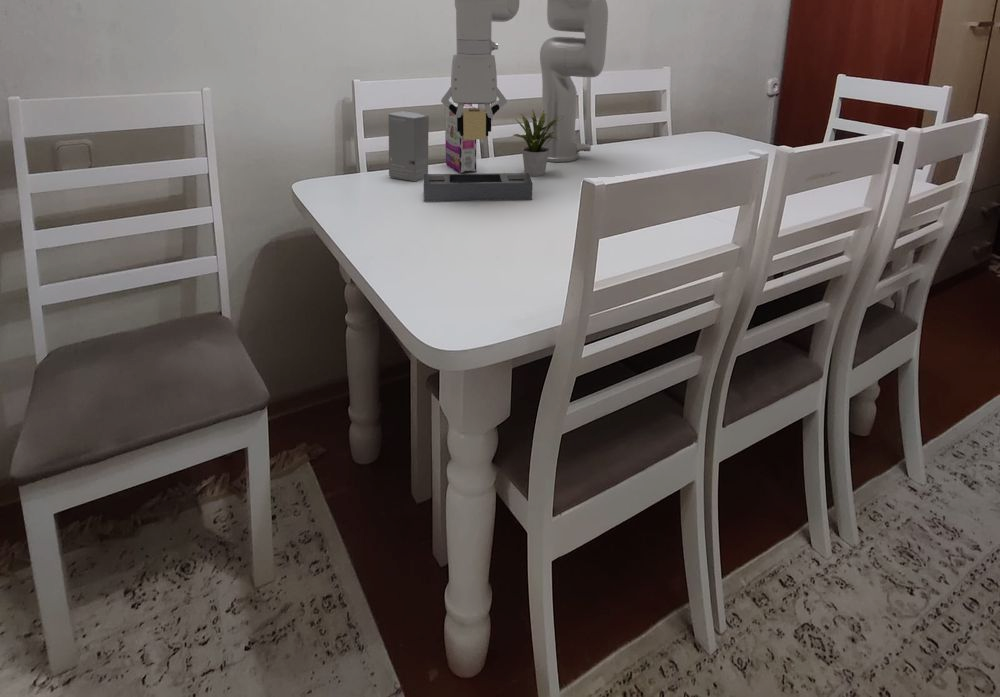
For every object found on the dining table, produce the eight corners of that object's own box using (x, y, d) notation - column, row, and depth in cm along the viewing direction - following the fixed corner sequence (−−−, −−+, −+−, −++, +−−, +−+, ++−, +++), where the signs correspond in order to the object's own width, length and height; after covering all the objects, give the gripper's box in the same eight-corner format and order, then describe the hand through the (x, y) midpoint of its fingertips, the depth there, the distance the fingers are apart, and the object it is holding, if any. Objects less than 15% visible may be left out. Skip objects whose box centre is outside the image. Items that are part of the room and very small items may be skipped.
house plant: (565, 182, 179) (568, 115, 171) (510, 181, 179) (511, 114, 172) (562, 168, 192) (565, 105, 184) (510, 167, 192) (511, 104, 184)
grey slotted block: (527, 189, 173) (528, 172, 171) (532, 199, 165) (532, 181, 163) (424, 190, 171) (424, 173, 169) (424, 201, 163) (423, 183, 161)
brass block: (484, 135, 164) (484, 107, 161) (485, 139, 159) (485, 110, 156) (462, 135, 163) (462, 107, 161) (463, 139, 159) (463, 110, 156)
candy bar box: (477, 172, 187) (477, 107, 180) (460, 174, 186) (459, 108, 178) (462, 162, 196) (461, 100, 189) (445, 164, 194) (443, 102, 187)
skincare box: (388, 178, 181) (384, 114, 174) (404, 172, 187) (401, 109, 179) (416, 182, 178) (413, 117, 170) (431, 176, 183) (429, 112, 176)
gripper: (511, 47, 157) (510, 131, 165) (434, 46, 155) (436, 131, 164) (514, 50, 150) (512, 138, 158) (434, 49, 149) (436, 138, 157)
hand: (474, 134), depth 161 cm, fingers closed on brass block, 5 cm apart
